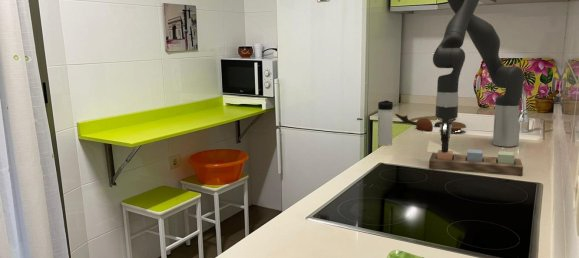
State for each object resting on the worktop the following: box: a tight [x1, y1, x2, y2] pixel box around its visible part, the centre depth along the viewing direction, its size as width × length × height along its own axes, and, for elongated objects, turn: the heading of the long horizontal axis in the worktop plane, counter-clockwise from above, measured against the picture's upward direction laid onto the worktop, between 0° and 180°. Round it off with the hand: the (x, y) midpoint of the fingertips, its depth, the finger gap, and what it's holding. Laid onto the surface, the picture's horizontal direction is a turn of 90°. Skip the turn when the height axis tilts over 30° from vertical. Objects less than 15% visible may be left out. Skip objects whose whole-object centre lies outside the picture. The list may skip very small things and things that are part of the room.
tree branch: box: [394, 113, 457, 127], centre depth 244 cm, size 22×30×8 cm
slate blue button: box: [466, 149, 484, 162], centre depth 161 cm, size 5×5×3 cm
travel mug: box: [377, 100, 394, 147], centre depth 197 cm, size 6×7×20 cm
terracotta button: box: [436, 149, 454, 160], centre depth 165 cm, size 5×5×3 cm
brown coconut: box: [450, 121, 467, 132], centre depth 221 cm, size 12×12×6 cm
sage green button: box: [497, 150, 516, 164], centre depth 157 cm, size 5×5×3 cm
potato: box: [415, 118, 434, 132], centre depth 227 cm, size 8×12×8 cm
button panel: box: [428, 152, 524, 177], centre depth 161 cm, size 30×12×3 cm, turn 67°
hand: (444, 151), depth 165 cm, fingers closed
